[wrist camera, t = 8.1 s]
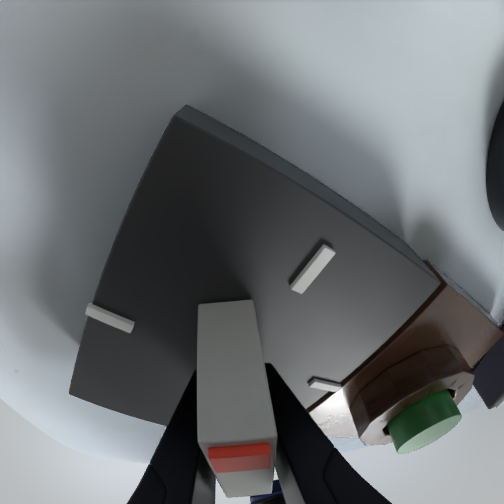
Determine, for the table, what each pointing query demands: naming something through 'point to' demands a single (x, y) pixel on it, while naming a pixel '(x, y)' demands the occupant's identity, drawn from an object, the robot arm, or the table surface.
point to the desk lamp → (496, 170)
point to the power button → (424, 422)
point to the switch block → (411, 366)
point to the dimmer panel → (239, 273)
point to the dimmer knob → (234, 399)
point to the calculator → (491, 375)
